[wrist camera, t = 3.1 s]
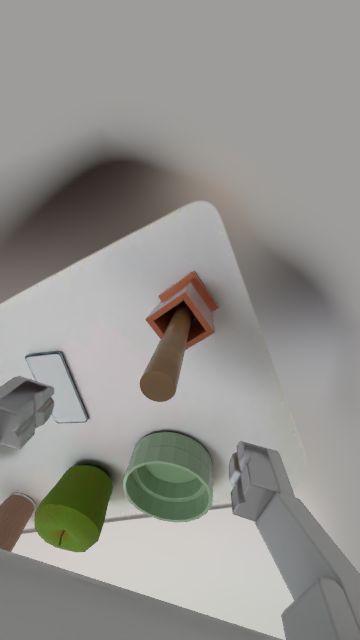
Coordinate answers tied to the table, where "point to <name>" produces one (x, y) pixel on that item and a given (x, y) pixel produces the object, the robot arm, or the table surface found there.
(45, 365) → the smartphone
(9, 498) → the coffee cup
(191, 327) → the utensil holder
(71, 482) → the apple
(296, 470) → the table surface
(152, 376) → the stirring stick
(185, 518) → the green round dish
